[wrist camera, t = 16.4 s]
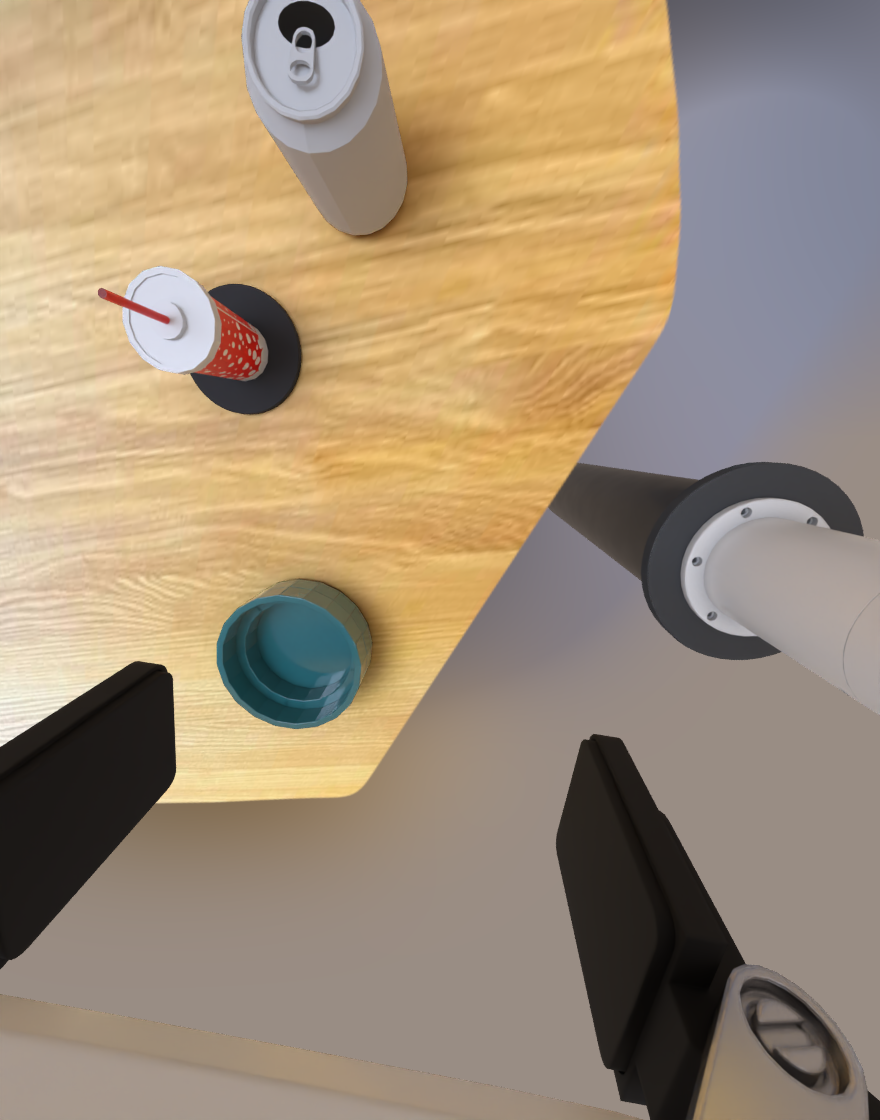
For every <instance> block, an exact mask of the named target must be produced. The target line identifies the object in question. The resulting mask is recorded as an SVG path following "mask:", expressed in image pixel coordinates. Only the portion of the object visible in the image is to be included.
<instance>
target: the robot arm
mask: <svg viewBox="0 0 880 1120" xmlns="http://www.w3.org/2000/svg"><path fill="white" fill-rule="evenodd" d="M741 511H742V513H741ZM694 558H695V559H694ZM693 559H694V561H692V560H693ZM680 575H681V587H682V591H683V594H684V597H685V599H686V601H687V603H688V605H689V607H690V608H691V609H692V610H693V612H694V613H695V614H696V615H697V616H698V617H699V618H700V619H702V620H703V621H704V622H706V623H707V624H708V625H710V626H712V627H713V628H715V629H717V630H719V631H722V632H725V633H728V634H731V635H738V636H758V637H760V638H761V639H763V640H765V641H766V642H768V643H769V644H771V645H772V646H774V647H775V648H777V649H778V650H780V651H781V652H783V653H785V654H786V655H788V656H789V657H791V658H792V659H794V660H795V661H797V662H798V663H800V664H801V665H803V666H804V667H806V668H807V669H809V670H810V671H812V672H813V673H815V674H817V675H818V676H820V677H821V678H823V679H824V680H826V681H827V682H829V683H830V684H832V685H833V686H835V687H837V688H838V689H839V690H841V691H843V692H844V693H846V694H847V695H849V696H850V697H852V698H853V699H855V700H856V701H858V702H859V703H861V704H862V705H864V706H865V707H867V708H869V709H871V710H872V711H874V712H875V713H877V714H878V715H880V540H875V539H871V538H867V537H863V536H858V535H854V534H849V533H845V532H841V531H836V530H832V529H830V527H829V526H828V524H827V523H826V522H825V521H824V519H823V518H822V517H821V516H820V515H819V514H817V513H816V512H815V511H814V510H812V509H811V508H809V507H807V506H805V505H803V504H801V503H798V502H794V501H790V500H786V499H779V498H771V497H770V498H755V499H750V500H746V501H741V502H739V503H736V504H734V505H731V506H729V507H727V508H725V509H723V510H722V511H720V512H719V513H717V514H715V515H714V516H713V517H712V518H710V519H709V520H708V521H707V522H706V523H705V524H703V525H702V527H701V528H700V529H699V530H698V531H697V533H696V534H695V535H694V536H693V538H692V540H691V542H690V543H689V545H688V547H687V549H686V552H685V554H684V557H683V560H682V566H681V573H680ZM708 613H709V614H708ZM175 773H176V753H175V726H174V698H173V678H172V675H171V674H170V673H168V672H167V669H166V667H165V666H163V665H159V664H153V663H147V662H140V661H136V662H133V663H131V664H129V665H128V666H126V667H125V668H123V669H122V670H120V671H118V672H117V673H115V674H114V675H112V676H111V677H109V678H108V679H106V680H104V681H103V682H101V683H100V684H98V685H97V686H95V687H93V688H92V689H90V690H89V691H87V692H86V693H84V694H83V695H81V696H79V697H78V698H76V699H75V700H73V701H72V702H70V703H68V704H67V705H65V706H64V707H62V708H61V709H59V710H57V711H56V712H54V713H53V714H51V715H50V716H48V717H47V718H45V719H43V720H42V721H40V722H39V723H37V724H36V725H34V726H32V727H31V728H29V729H28V730H26V731H25V732H23V733H22V734H20V735H18V736H17V737H15V738H14V739H12V740H11V741H9V742H7V743H6V744H4V745H3V746H1V747H0V969H1V968H2V967H3V966H4V965H5V964H6V962H7V961H8V960H12V959H15V958H17V957H18V956H19V955H21V954H22V953H23V952H24V951H25V950H26V949H27V948H28V947H29V946H30V945H31V944H32V942H33V941H34V940H35V939H36V938H37V937H38V936H39V935H40V934H41V932H42V931H43V930H44V929H45V928H46V927H47V925H48V924H49V923H50V922H51V921H52V920H53V919H54V918H55V916H56V915H57V914H58V913H59V912H60V911H61V910H62V909H63V907H64V906H65V905H66V904H67V903H68V902H69V901H70V899H71V898H72V897H73V896H74V895H75V894H76V893H77V892H78V890H79V889H80V888H81V887H82V886H83V885H84V883H85V882H86V881H87V880H88V879H89V878H90V877H91V876H92V874H93V873H94V872H95V871H96V870H97V869H98V868H99V867H100V865H101V864H102V863H103V862H104V861H105V860H106V859H107V857H108V856H109V855H110V854H111V853H112V852H113V851H114V850H115V848H116V847H117V846H118V845H119V844H120V842H122V840H123V839H124V838H125V837H126V836H127V835H128V834H129V833H130V831H131V830H132V829H133V828H134V827H135V826H136V824H137V823H138V822H139V821H140V820H141V819H142V818H143V817H144V815H145V814H146V813H147V812H148V811H149V810H150V808H152V806H153V805H154V804H155V803H156V802H157V801H158V800H159V798H160V797H161V796H162V795H163V794H164V793H165V792H166V791H167V789H168V788H169V787H170V785H171V784H172V782H173V780H174V777H175ZM556 850H557V856H558V860H559V865H560V870H561V874H562V879H563V884H564V888H565V893H566V898H567V902H568V906H569V911H570V916H571V921H572V925H573V929H574V935H575V939H576V944H577V948H578V953H579V958H580V962H581V967H582V972H583V976H584V981H585V985H586V990H587V995H588V999H589V1004H590V1008H591V1013H592V1017H593V1022H594V1027H595V1032H596V1036H597V1041H598V1045H599V1050H600V1054H601V1057H602V1061H603V1063H604V1065H605V1067H606V1068H607V1069H612V1070H614V1073H615V1078H616V1082H617V1086H618V1091H619V1095H620V1099H621V1101H625V1102H631V1103H636V1104H641V1105H647V1109H648V1112H649V1116H650V1120H880V1101H879V1100H878V1099H877V1098H876V1097H874V1096H873V1095H872V1094H871V1093H870V1092H869V1091H868V1090H867V1086H866V1081H865V1076H864V1072H863V1068H862V1066H861V1064H860V1062H859V1060H858V1058H857V1056H856V1054H855V1052H854V1050H853V1048H852V1046H851V1044H850V1043H849V1041H848V1040H847V1038H846V1037H845V1036H844V1034H843V1033H842V1032H841V1030H840V1028H839V1027H838V1026H837V1024H836V1023H835V1022H834V1021H833V1020H832V1018H831V1017H830V1016H829V1015H828V1014H827V1013H826V1012H825V1011H824V1010H823V1008H822V1007H821V1006H820V1005H819V1004H818V1003H817V1002H816V1001H815V1000H814V999H813V998H812V997H810V996H809V995H808V994H807V993H806V992H804V991H803V990H802V989H801V988H800V987H799V986H797V985H796V984H795V983H793V982H791V981H790V980H788V979H787V978H785V977H783V976H782V975H780V974H779V973H777V972H775V971H772V970H769V969H767V968H764V967H762V966H759V965H747V964H745V962H744V960H743V958H742V956H741V954H740V953H739V950H738V949H737V947H736V945H735V943H734V941H733V939H732V937H731V936H730V934H729V932H728V930H727V928H726V926H725V924H724V922H723V921H722V919H721V917H720V915H719V913H718V911H717V909H716V908H715V906H714V904H713V902H712V900H711V898H710V896H709V894H708V893H707V891H706V889H705V887H704V885H703V883H702V881H701V879H700V878H699V876H698V874H697V872H696V870H695V868H694V867H693V865H692V863H691V861H690V859H689V857H688V855H687V853H686V851H685V850H684V848H683V846H682V844H681V842H680V840H679V838H678V837H677V835H676V833H675V831H674V829H673V827H672V825H671V824H670V822H669V820H668V819H667V818H666V816H665V814H663V813H662V812H661V811H659V810H658V808H657V807H656V804H655V802H654V800H653V799H652V797H651V795H650V793H649V791H648V789H647V787H646V785H645V783H644V781H643V779H642V777H641V776H640V774H639V772H638V770H637V768H636V766H635V764H634V762H633V760H632V758H631V756H630V755H629V753H628V751H627V749H626V747H625V745H624V743H623V741H622V740H621V739H620V738H616V737H609V736H603V735H597V734H593V735H592V736H591V737H590V739H589V740H583V741H582V742H581V745H580V749H579V753H578V757H577V761H576V764H575V768H574V772H573V775H572V779H571V783H570V787H569V791H568V794H567V798H566V802H565V806H564V809H563V813H562V817H561V820H560V824H559V828H558V832H557V838H556ZM0 1120H642V1119H639V1118H635V1117H632V1116H628V1115H625V1114H621V1113H618V1112H614V1111H609V1110H604V1109H600V1108H595V1107H591V1106H586V1105H582V1104H576V1103H572V1102H568V1101H563V1100H558V1099H553V1098H549V1097H544V1096H540V1095H535V1094H530V1093H526V1092H521V1091H516V1090H512V1089H508V1088H502V1087H498V1086H493V1085H487V1084H482V1083H477V1082H472V1081H467V1080H461V1079H456V1078H451V1077H446V1076H441V1075H435V1074H430V1073H425V1072H420V1071H414V1070H409V1069H404V1068H399V1067H394V1066H388V1065H383V1064H378V1063H373V1062H368V1061H362V1060H357V1059H352V1058H347V1057H342V1056H336V1055H331V1054H326V1053H320V1052H315V1051H310V1050H304V1049H299V1048H294V1047H288V1046H283V1045H277V1044H272V1043H267V1042H261V1041H256V1040H250V1039H245V1038H240V1037H234V1036H229V1035H223V1034H218V1033H213V1032H207V1031H201V1030H196V1029H191V1028H185V1027H180V1026H175V1025H168V1024H164V1023H158V1022H152V1021H147V1020H142V1019H135V1018H131V1017H125V1016H120V1015H114V1014H108V1013H102V1012H97V1011H92V1010H86V1009H80V1008H75V1007H69V1006H64V1005H58V1004H52V1003H47V1002H41V1001H35V1000H29V999H24V998H19V997H13V996H7V995H2V994H0Z"/></svg>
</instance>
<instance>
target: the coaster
mask: <svg viewBox="0 0 880 1120" xmlns="http://www.w3.org/2000/svg"><path fill="white" fill-rule="evenodd" d="M208 293H209V295H210V296H211V297H213V298H214V299H215V300H217V301H218V302H220V303H221V304H222V305H224V306H225V307H227V308H228V309H229V310H231V311H232V312H234V313H235V314H237V315H238V316H239V317H241V318H242V319H244V320H245V321H246V322H248V323H249V324H251V325H252V326H253V327H255V328H256V329H258V330H259V332H260V333H261V335H262V336H263V337H264V339H265V341H266V345H267V348H268V363H267V365H266V367H265V369H264V371H263V373H261V374H260V375H259V376H258V377H257V378H255V379H252V380H248V381H241V380H235V379H229V378H223V377H217V376H212V375H206V374H200V373H194V372H193V373H190V374H191V376H192V378H193V380H194V381H195V383H196V384H197V386H198V387H199V388H200V390H201V391H202V392H203V393H204V394H205V395H206V396H207V397H208V398H209V399H210V400H211V401H213V402H214V403H215V404H217V405H218V406H220V407H222V408H224V409H226V410H229V411H232V412H236V413H241V414H259V413H263V412H266V411H269V410H271V409H273V408H275V407H277V406H278V405H279V404H281V403H282V402H283V401H284V400H285V399H286V398H287V397H288V396H289V394H290V393H291V391H292V390H293V388H294V386H295V384H296V382H297V379H298V376H299V372H300V367H301V348H300V342H299V338H298V334H297V332H296V329H295V326H294V324H293V322H292V321H291V319H290V317H289V316H288V314H287V313H286V311H285V310H284V309H283V308H282V307H281V306H280V305H279V304H278V303H277V302H276V301H275V300H274V299H273V298H271V297H270V296H269V295H267V294H266V293H264V292H262V291H260V290H259V289H256V288H254V287H251V286H247V285H242V284H228V285H223V286H219V287H216V288H214V289H212V290H210V291H209V292H208Z"/></svg>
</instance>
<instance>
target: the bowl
mask: <svg viewBox="0 0 880 1120" xmlns="http://www.w3.org/2000/svg"><path fill="white" fill-rule="evenodd" d="M371 653H372V639H371V635H370V631H369V626H368V623H367V622H366V620H365V618H364V617H363V615H362V613H361V612H360V610H359V609H358V607H357V606H356V605H355V604H354V603H353V602H352V601H351V600H350V599H348V598H347V597H346V596H345V595H344V594H343V593H342V592H340V591H338V590H336V589H334V588H332V587H330V586H328V585H326V584H324V583H321V582H316V581H310V580H303V579H296V580H290V581H283V582H279V583H277V584H275V585H273V586H271V587H269V588H267V589H265V590H264V591H262V592H260V593H259V594H257V595H256V596H255V597H253V598H252V599H250V600H249V601H247V602H246V603H245V604H243V605H242V606H240V607H239V608H237V609H236V611H235V612H234V613H233V614H232V615H231V616H230V617H229V619H228V620H227V621H226V622H225V623H224V625H223V627H222V630H221V633H220V636H219V638H218V641H217V666H218V669H219V672H220V675H221V678H222V681H223V684H224V686H225V687H226V688H227V690H228V691H229V693H230V694H231V695H232V697H233V698H234V700H235V701H236V702H237V703H238V704H239V705H240V706H242V707H243V708H244V709H245V710H247V711H248V712H249V713H250V714H252V715H253V716H254V717H256V718H259V719H261V720H263V721H265V722H268V723H270V724H272V725H275V726H280V727H286V728H292V729H301V728H310V727H317V726H320V725H322V724H324V723H326V722H329V721H331V720H333V719H335V718H337V717H338V716H339V715H340V714H341V713H342V712H343V711H344V710H345V709H346V708H347V707H348V706H350V704H351V703H352V701H353V699H354V697H355V695H356V693H357V690H358V688H359V686H360V684H361V682H362V680H363V678H364V675H365V673H366V671H367V669H368V667H369V665H370V662H371Z"/></svg>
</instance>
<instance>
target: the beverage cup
mask: <svg viewBox="0 0 880 1120" xmlns="http://www.w3.org/2000/svg"><path fill="white" fill-rule="evenodd" d="M98 295H99V296H100V297H101V298H103V299H105V300H107V301H110V302H112V303H115V304H117V305H120V306H122V307H123V324H124V327H125V330H126V333H127V335H128V338H129V341H130V343H131V345H132V346H133V347H134V348H135V350H136V351H137V352H138V354H139V355H140V356H141V357H142V359H143V360H145V361H146V362H148V363H150V364H151V365H153V366H154V367H156V368H157V369H159V370H162V371H167V372H172V373H178V374H184V375H185V374H189V373H193V372H194V373H200V374H206V375H212V376H217V377H223V378H229V379H235V380H241V381H248V380H252V379H255V378H257V377H258V376H259V375H260V374H261V373H263V371H264V369H265V367H266V365H267V363H268V348H267V345H266V341H265V339H264V337H263V336H262V335H261V333H260V332H259V330H258V329H256V328H255V327H253V326H252V325H251V324H249V323H248V322H246V321H245V320H244V319H242V318H241V317H239V316H238V315H237V314H235V313H234V312H232V311H231V310H229V309H228V308H227V307H225V306H224V305H222V304H221V303H220V302H218V301H217V300H215V299H214V298H213V297H211V296H210V295H209V293H208V292H207V291H206V289H205V288H204V286H202V285H201V284H199V283H198V282H197V281H195V280H194V279H192V278H191V277H189V276H188V275H186V274H185V273H183V272H182V271H180V270H179V269H173V268H168V267H163V266H158V267H155V268H151V269H148V270H144V271H142V272H141V273H140V274H139V275H138V276H137V277H136V278H135V279H134V280H133V281H132V282H131V283H130V284H129V286H128V289H127V292H126V294H125V297H121V296H119V295H117V294H115V293H112V292H110V291H108V290H105V289H103V288H100V289H99V290H98Z"/></svg>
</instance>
